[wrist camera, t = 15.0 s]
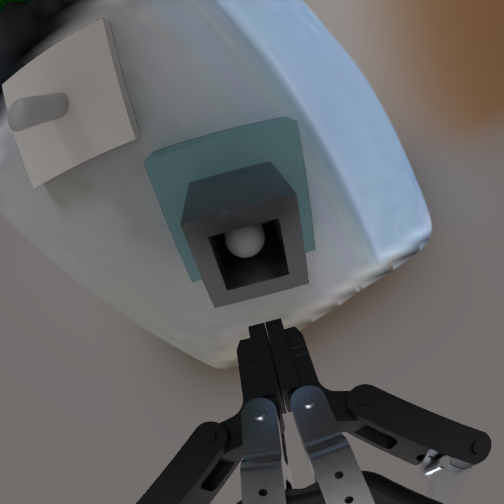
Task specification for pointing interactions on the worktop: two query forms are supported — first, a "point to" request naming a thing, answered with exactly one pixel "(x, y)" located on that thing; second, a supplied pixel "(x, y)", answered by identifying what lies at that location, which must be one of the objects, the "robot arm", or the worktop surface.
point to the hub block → (223, 160)
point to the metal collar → (238, 216)
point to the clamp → (2, 0)
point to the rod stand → (70, 104)
